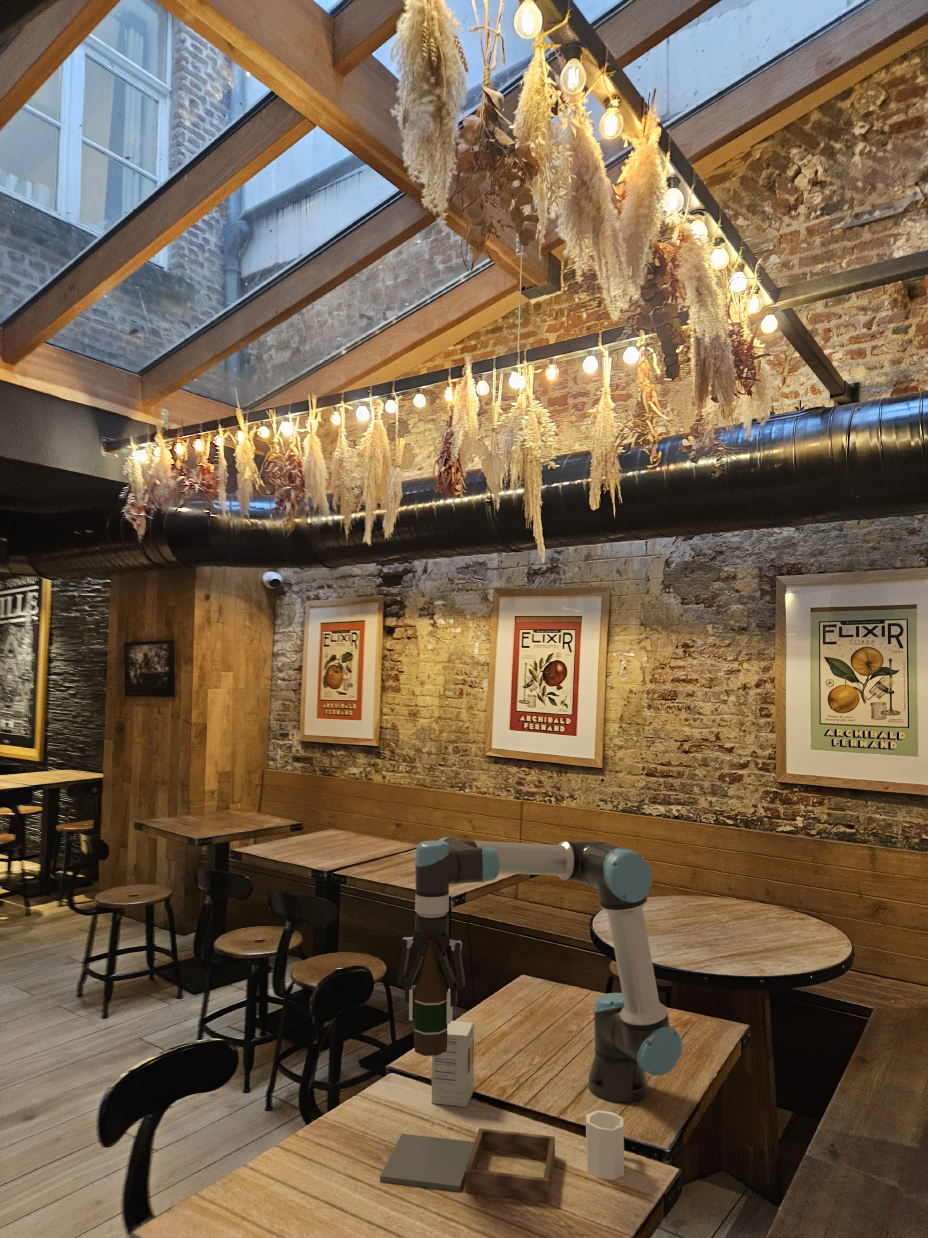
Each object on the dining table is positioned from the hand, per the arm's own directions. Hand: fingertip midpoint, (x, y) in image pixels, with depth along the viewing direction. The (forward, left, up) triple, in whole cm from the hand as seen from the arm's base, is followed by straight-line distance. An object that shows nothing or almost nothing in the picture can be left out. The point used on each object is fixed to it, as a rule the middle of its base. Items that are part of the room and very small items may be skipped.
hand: (430, 1019), depth 177 cm
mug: (-38, -8, -30) cm, 49 cm away
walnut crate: (-18, 0, -30) cm, 35 cm away
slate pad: (0, 0, -30) cm, 30 cm away
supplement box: (+1, -30, -30) cm, 42 cm away
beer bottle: (0, 0, -6) cm, 6 cm away
